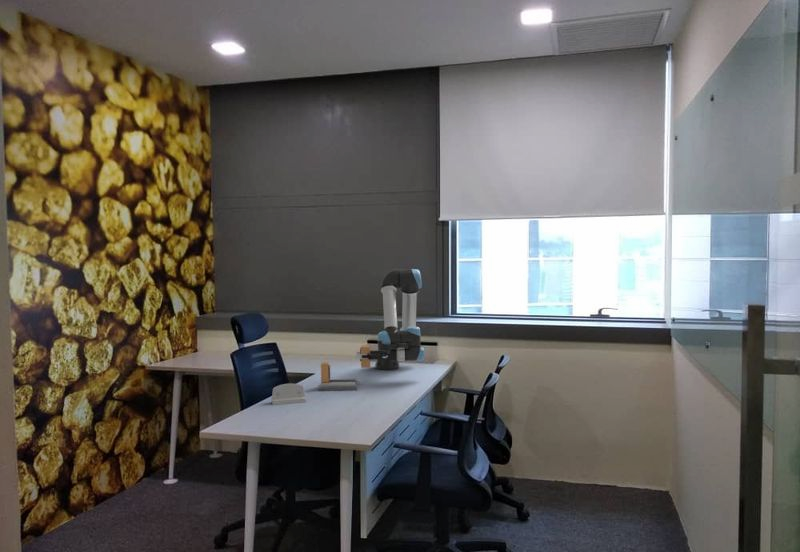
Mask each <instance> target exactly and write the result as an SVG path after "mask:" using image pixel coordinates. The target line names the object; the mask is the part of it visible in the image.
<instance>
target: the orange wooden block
mask: <svg viewBox="0 0 800 552" xmlns="http://www.w3.org/2000/svg"><path fill="white" fill-rule="evenodd" d="M370 351H371V344H361V346H360V349H359V352H360V354H368V353H369V354H370ZM359 361H360V368H361V369H365V368H371V360H369V359H359Z"/></svg>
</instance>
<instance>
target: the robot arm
mask: <svg viewBox="0 0 800 552" xmlns="http://www.w3.org/2000/svg"><path fill="white" fill-rule="evenodd" d="M422 287H423V283H422V275H421V272H420V270H419V269H418V268H417V269H415V268H408V269H407V268H405V269H404V268H403V269H402V268H401V269H400V268H399V269H392V270H389V271H388V272H387V273H386V274H385V275H384V276H383V278H382V281H381V283H380V292H381V293H382V303H383V322H384V323H383V324H384V330H383V331H380V332H379V333H378V334H377V350H370V354H369V353H368V354H360V351H356V354H355V359H356V360H360V359H369V360H370V361H372V360H373V361H374V360H376V361H375V365H374V366H375V369H377V370H382V371H383V370H384V371H386V370H387V371H391V370H397V369H399V368H400V362H402V363H403V362H419V361H420V362H421V361H424V359H425V348H424V347H422V346H421V336H422V335H421V328H420V327H419V326H417V298H418V297H417V294H418V293H419V292H420V289H421V288H422ZM398 289H399V290H400V292H401V293H402V304H401V305H402V309H401V310H402V315H401V316H402V317H401V319H402V322H401V325H402V326H401V327H400V329H399V328H398V313H397V298H396V293H397V291H398ZM398 329H399V330H398Z"/></svg>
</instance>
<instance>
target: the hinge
mask: <svg viewBox="0 0 800 552" xmlns="http://www.w3.org/2000/svg"><path fill="white" fill-rule="evenodd" d="M306 399H307V398H306V393H305V388H304V385H301V384H298V383H284V384H279V385H277V386H274V387H273V388H272V395H271V403H272V404H271V405H272V406H275V405H289V404H302V403H306Z"/></svg>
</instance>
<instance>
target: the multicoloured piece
mask: <svg viewBox="0 0 800 552" xmlns="http://www.w3.org/2000/svg"><path fill="white" fill-rule="evenodd" d="M320 379H321V382H320V385H319V386H318V392H321V391H322V392H324V391H329V392H331V391H332V392H333V391H335V392H336V390H338V391H358V387H359V380H357V378H331V364H330V362H329V361H323V362H322V361H321V363H320Z"/></svg>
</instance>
